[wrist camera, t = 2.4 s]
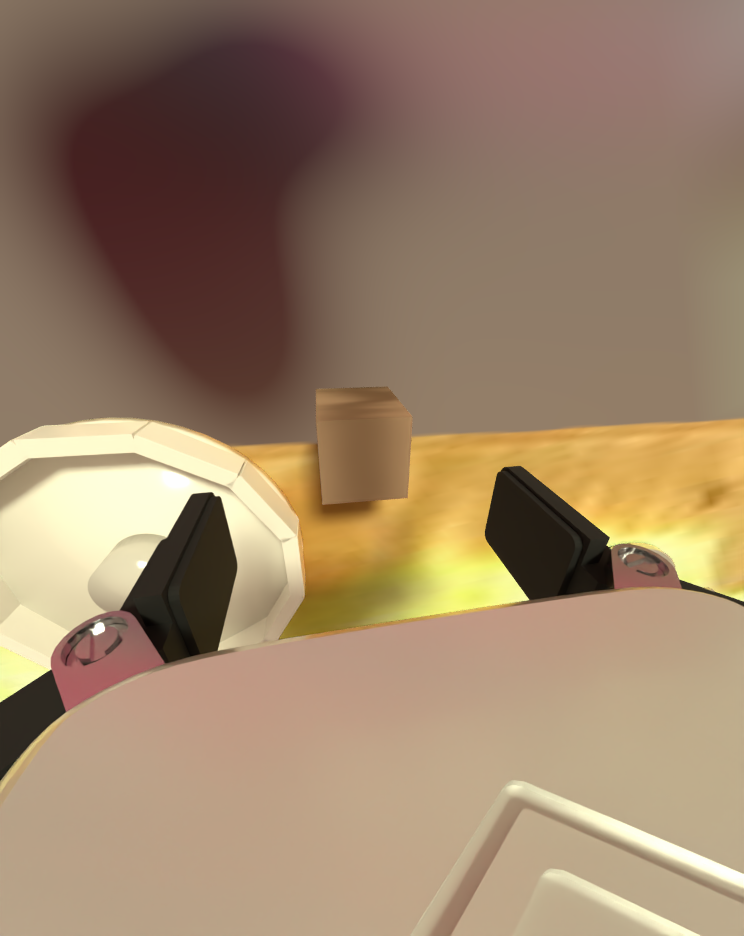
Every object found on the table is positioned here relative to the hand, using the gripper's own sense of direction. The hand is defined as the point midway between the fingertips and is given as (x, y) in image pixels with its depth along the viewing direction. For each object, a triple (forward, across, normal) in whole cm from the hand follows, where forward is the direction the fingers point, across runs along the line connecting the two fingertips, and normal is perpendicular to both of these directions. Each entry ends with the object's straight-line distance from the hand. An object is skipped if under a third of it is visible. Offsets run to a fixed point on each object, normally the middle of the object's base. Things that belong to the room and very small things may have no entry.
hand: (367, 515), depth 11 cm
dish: (+11, +13, +10) cm, 20 cm away
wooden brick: (+11, -1, +1) cm, 11 cm away
